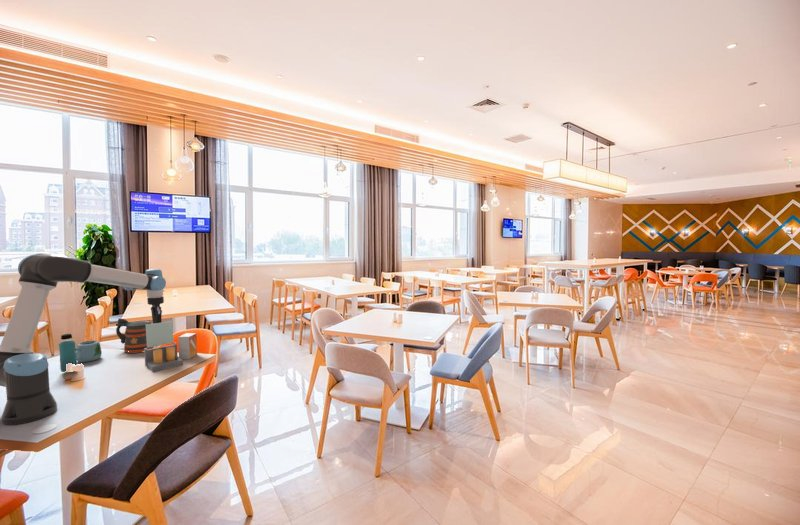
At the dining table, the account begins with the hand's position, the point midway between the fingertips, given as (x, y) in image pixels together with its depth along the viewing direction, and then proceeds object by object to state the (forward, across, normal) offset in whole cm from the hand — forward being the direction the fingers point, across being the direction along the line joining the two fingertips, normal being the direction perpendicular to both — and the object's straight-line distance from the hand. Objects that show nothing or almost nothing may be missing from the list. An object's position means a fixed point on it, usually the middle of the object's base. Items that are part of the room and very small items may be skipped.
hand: (157, 337), depth 203 cm
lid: (-3, -5, 0) cm, 6 cm away
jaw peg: (+12, -13, -3) cm, 18 cm away
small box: (+13, -7, -13) cm, 19 cm away
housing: (+12, -13, 0) cm, 18 cm away
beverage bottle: (+12, +10, +37) cm, 40 cm away
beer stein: (+13, +30, +6) cm, 33 cm away
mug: (+13, +26, +29) cm, 41 cm away
